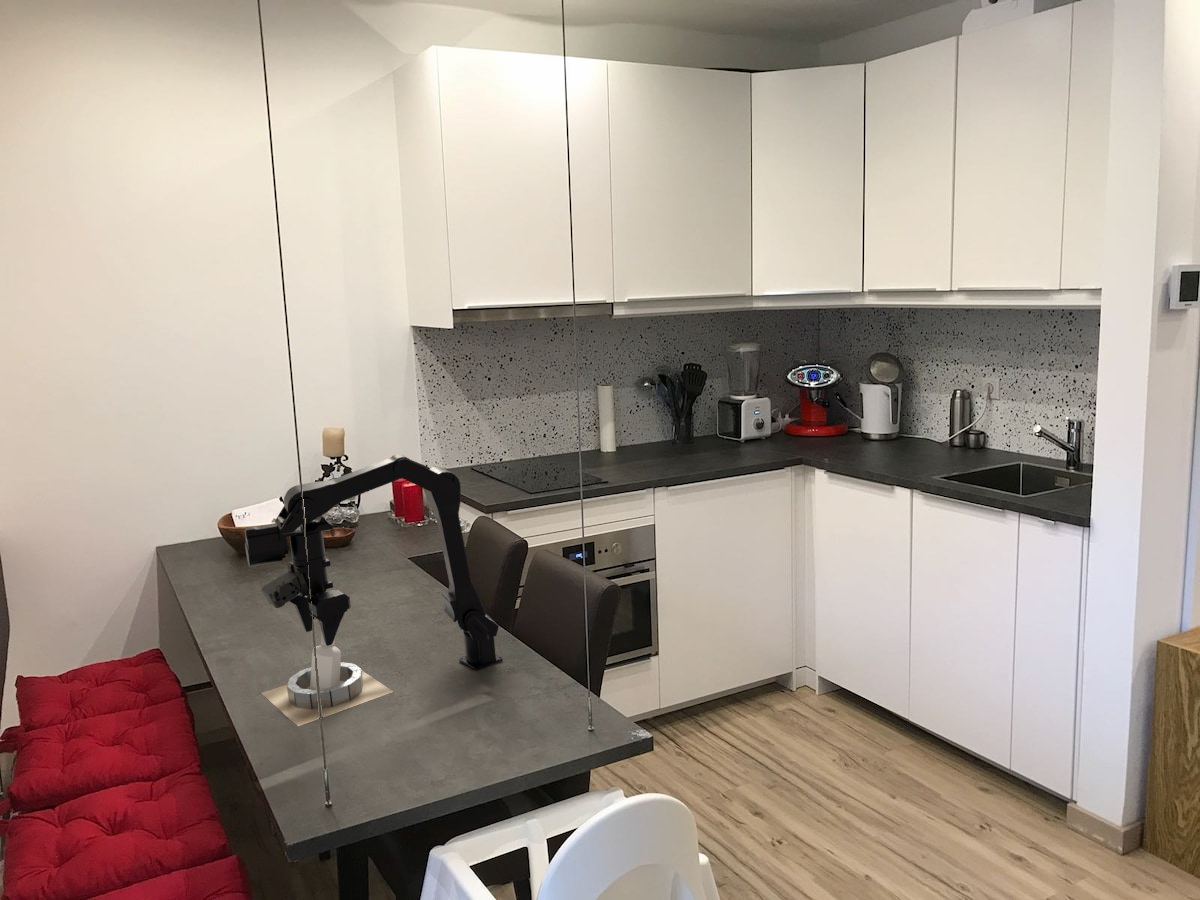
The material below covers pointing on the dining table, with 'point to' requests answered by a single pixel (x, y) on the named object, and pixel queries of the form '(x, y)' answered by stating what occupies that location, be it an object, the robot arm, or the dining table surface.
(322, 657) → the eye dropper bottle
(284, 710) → the birch board
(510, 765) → the dining table surface
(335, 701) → the steel collar
